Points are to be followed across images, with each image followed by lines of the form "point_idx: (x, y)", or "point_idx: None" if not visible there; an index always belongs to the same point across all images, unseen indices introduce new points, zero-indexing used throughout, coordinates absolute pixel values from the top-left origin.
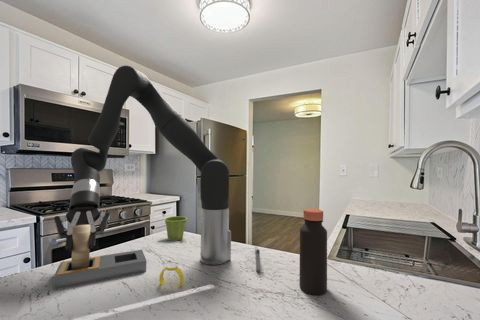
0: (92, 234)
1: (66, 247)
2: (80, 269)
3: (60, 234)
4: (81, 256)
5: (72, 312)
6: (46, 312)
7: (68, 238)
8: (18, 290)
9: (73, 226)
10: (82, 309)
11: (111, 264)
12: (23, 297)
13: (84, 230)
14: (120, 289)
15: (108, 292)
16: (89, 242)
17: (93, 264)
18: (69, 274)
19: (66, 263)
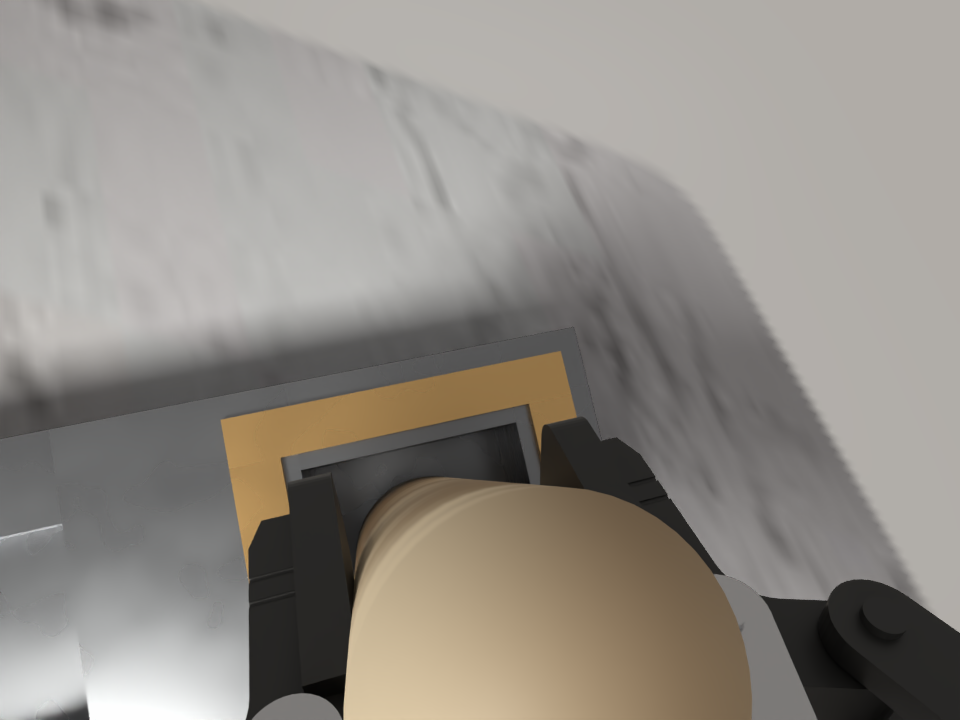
0: (306, 688)
1: (611, 441)
2: (394, 413)
3: (852, 594)
4: (418, 484)
5: (323, 74)
6: (474, 128)
7: None
8: (783, 476)
9: (751, 712)
10: (272, 86)
11: (101, 489)
12: (697, 360)
13: (427, 519)
14: (47, 273)
15: (140, 253)
16: (325, 506)
17: None
18: (463, 349)
19: None
